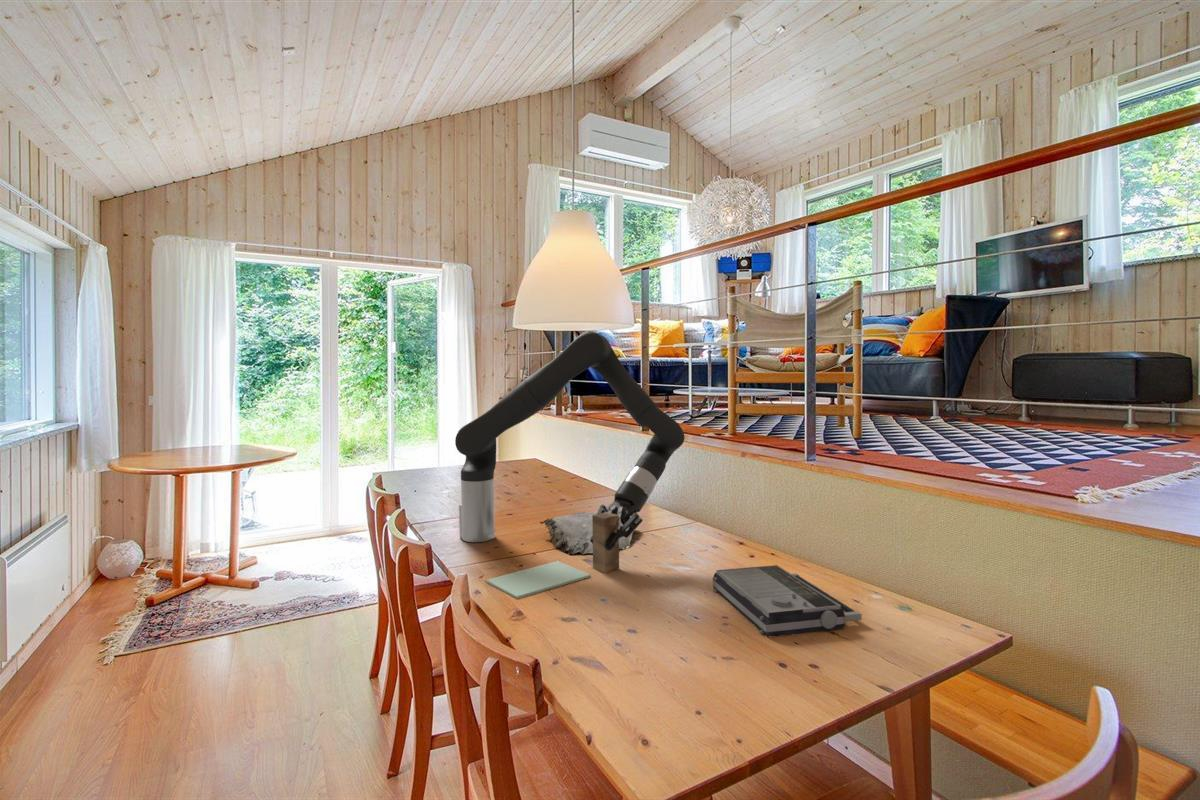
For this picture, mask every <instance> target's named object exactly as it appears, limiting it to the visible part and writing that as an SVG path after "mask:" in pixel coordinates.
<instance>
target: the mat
mask: <svg viewBox="0 0 1200 800" xmlns="http://www.w3.org/2000/svg"><path fill="white" fill-rule="evenodd" d="M584 578H585V579H588V578H591V574H589V573H587V572H585V571H583V570H581V569H578V568H575V567H573V566H570V565H568V564H566V563H563V562H561V561H560V560H559V561H558V560H557V561H553V562H549V563H545V564H541V565H537V566H534V567H531V568H526V569H523V570H519V571H516V572H511V573H507V574H503V575H500V576H495V577H492V578H488V579H486V580H485V582H486V583H487V584H489V585H490V586H493V587H494V588H495V589H498V590H500V591H502V592H504V593H505V594H507V595H509V596H511V597H513V598H515V599H516V600H518V599H520V598H524V597H527V596H530V595H534V594H538V593H540V592H545V591H547V590H551V589H554V588H557V587H561V586H564V585H568V584H571V583H574V582H575V583H576V582H578V581H581V580H584Z"/></svg>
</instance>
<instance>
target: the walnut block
mask: <svg viewBox="0 0 1200 800" xmlns="http://www.w3.org/2000/svg"><path fill="white" fill-rule="evenodd" d="M618 518H619V515H616V514H612V513H608V512H604V513H600V514H595V515H592V522H593V553H592V569H594V568H595V570H596V569H598V570H597V571H599V570H600V572H602V571H603V572H602V573H604V572H606V573H609V572H608V571H610V572H612V570H613V571H616V570H619V569H620V549H619V539H618V541H617V542H616V544H615V546H614V547H613V548H612V549H611V550H610V551H609V550H607V549H606V548H605V547H604V543H605V542H606V540H607V539H608V537H609V536H610V534H611V533H613V530H614V527H615V526H616V521H617V520H618ZM618 568H619V569H618ZM615 569H616V570H615Z"/></svg>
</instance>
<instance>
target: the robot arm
mask: <svg viewBox="0 0 1200 800" xmlns="http://www.w3.org/2000/svg"><path fill="white" fill-rule="evenodd" d="M590 368H592V369H593V370H594V371H595V372H597V374H598V375H600V376H601V377H602V378H603V379H604V380H605V381H606V383H607V384H608V385H609V387H610V388H611V389H612V391H613V392H614V394H615V396H616V398H617V399H618V401H619V402H620V403H621V405H622V407H623V408H624V409H625V410H626V411H627V413H628V414H629V415H630V417H631V418H632V419H633V420H634V421H635V423H636V424H637V425H638V426H639V427H641V428H648V429H649V430H650V431H651V432H652V433H653V435H652V437H651V438H650V440H649V442H648V443H647V445H646V447H645V450H644V452H643V453H642V454H641V456H640V457H639V459H638V460H637V462H635V465H634V467H632V469H631V470H630V471H629V472H628V473H627V475H626V477H625V478H624V479H623V481H622V483H621V484H620V485H619V487H618V489H617V490H616V492H615V493H614V500H613V501H612V502H611V503H610V504H609V505H608V506H606V505H604V504H601V505H600V506H599V508H598V510H597V512H598V513H597V514H600V513H604V512H608V513H612V514H616V515H619V518H618V520H617V521H616V526H615V527H614V530H613V533H611V534H610V536H609V537H608V539H607V540H606V542H605V543H604V547H605V548H606V549H607V550H609V551H610V550H611V549H612V548H613V547H614V546H615V544H616V542H617V541H618V539H619V538H622V537H625V538H627V537H628V536H629V535H630V534H631V533H632V532H633V533H634V530H635V531H636V529H637V528H638V527H639V525H641V523H642V522H643V518H642V517H641V516H640V515H639V514H638V513H639V512H641V511H642V509H643V508H644V506H645V505H646V502H647V501H648V500H649V498H650V496H651V494H652V492H653V491H654V489H655V487H656V484H657V483H658V481H659V480H660V479H661V476H662V475H663V474H664V472H665V470H666V466H667V463H668V462H669V460H670V458H671V456H672V455H673V454H674V452H676V451H677V450H678V449H680V447H681V446H682V445H683V444H684V442H685V439H686V438H685V433H684V430H683V429H682V427H681V426H680V424H679V423H678V422H677V420H675V419H673V417H671V416H670V415H668V414H667V413H666V412H665V411H664V410H661V409H660V408H659V407H658V405H657V404H656V403H655V402H654V400H653V399H652V398H651V396H649V395H648V393H646V391H645V389H643V388H642V387H641V385H640V384H639V383H638V382H637V381H636V379H634V377H632V376H631V374H630V373H629V372H628V370H627V369H626V368H625V366H624V365H623V364H622V362H621V360H619V358H618V356H617V354H616V353H615V351H614V349H613V347H612V346H611V344H610V342H609V340H608V339H607V338H606V337H605V336H604V335H602V334H601V333H598V332H594V331H586V332H583V333H581V334H580V335H578V336H577V337H576V338H575V339H573V341H572V342H570V344H569V345H568V346H566V347H565V348H564V350H562V351H561V352H560V353H559V354H558V355H557V356H556V357H554V359H552V360H550V362H548V363H547V364H544V366H542V367H541V368H539V369H538V370H536V371H535V372H534V373H532V374H531V375H529V376H528V377H527V378H525V379H524V380H523V381H521V382H520V383H519V384H517V385H516V386H515V387H514V388H513V389H512V390H510V391H508V393H507V394H506V395H504V396H503V397H502V398H501V399H500V400H498V401H497V402H496V404H494V405H493V406H492V407H491V408H490V409H488V410H487V411H486V412H485V413H483V414H481V415H480V416H478V417H477V418H475V419H474V420H472V421H469V422H468V423H467V424H465V425H463V426H462V427H460V429H459V430H458V431H457V433H456V435H455V440H454V441H455V443H454V444H455V448H456V450H457V451H458V452H459V453H460V454H462V455H464V456H465V461H464V464H463V466H462V468H461V469H460V491H461V493H460V494H461V498H460V499H461V500H460V502H461V503H460V504H459V506H458V513H459V515H458V519H459V521H458V522H459V523H458V524H459V526H458V527H459V539H462V540H463V541H464V542H468V543H481V542H488V541H492V540H493V539H495V538H496V532H495V531H496V530H495V529H496V528H495V527H496V525H495V524H496V523H495V522H496V521H495V520H496V519H495V480H494V479H495V469H496V465H497V438H499V436H500V435H502V434H503V433H505V432H506V431H507V430H510V429H511V428H513V427H514V426H517V425H519V424H520V423H522V422H524V421H526V420H528V419H529V418H531V417H533V416H534V415H536V414H537V413H538V412H540V411H541V410H543V409H544V408H545V407H546V406H548V405H549V404H550V403H551V402H553V400H554V399H555V398H556V397H557V396H558V395H559V393H561V391H562V390H563V388H565V386H566V385H567V384H568V383H569V382H570V381H572V379H573V378H575V377H577V376H578V375H580V374H581V373H583V372H584V371H586V370H587V369H590ZM628 527H630V528H629V529H628V530H627V531H626V529H627V528H628ZM633 533H632V534H633ZM590 542H591V543H592V544H593V535H592V537H591V539H590Z"/></svg>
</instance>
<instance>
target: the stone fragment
mask: <svg viewBox="0 0 1200 800" xmlns="http://www.w3.org/2000/svg"><path fill="white" fill-rule="evenodd" d="M597 513H598V511H588V512H576V513H573V514H568V515H567V514H566V515H565V514H564V515H559V516H556V517H554V518H553V517H551V518H547V519H545V520H543V521H539V523H540V525H541V524H544V525H545V528H547V530H548V532H549V537H550V538H551V542H552V544H553V547H557V549H560V548H561V549H560V551H561V552H562V553H563V552H564V553H567V555H568V554H572V555H574V554H577V553H580V554H581V555H584V554H593V544H592V543H591V542H590V539H591V537H592V535H593V522H592V515H595V514H597ZM629 528H630V527H628V528H627V529H626V531H627V530H628V529H629ZM634 531H636V529H635V530H634ZM634 531H633V532H632V533H631V534H630V535H629V536H628V537H627V538H625V537H622V538H619V550H621V549H623V548H625V549H626V547H627V546H629V547H630V548H631V540H632V537H633V533H634ZM623 550H624V549H623Z"/></svg>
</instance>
